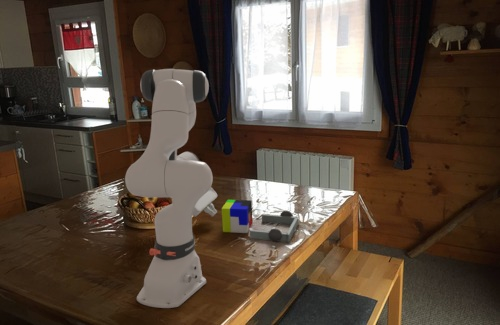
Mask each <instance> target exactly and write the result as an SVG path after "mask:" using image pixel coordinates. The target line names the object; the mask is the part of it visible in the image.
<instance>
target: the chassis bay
mask: <svg viewBox="0 0 500 325" xmlns="http://www.w3.org/2000/svg"><path fill="white" fill-rule="evenodd" d="M261 222H262V223H269V224H270V223H273V224H284V225H290V226H289V228H288V230H287V231H286V232H282V231H281V230H280V229H279V228H277V227H276V228H274V227H273V228H272V229H270V230H269V231H268V230H260V229H259V230H258V229H257V230H256V229H249V235H250V236H249V238H250V239H255V240H266V241H272V242H274V243H275V242H276V243H278V242H283V243H284V242H286V243H289V242H290V243H291V240H292V237H293V236H294V234H295V231H296V230H297V227H298V226H299V222H300V220H299V216H293V213H292V212H291V211H290V210H283V211H281V213H280V214H267V213H262V214H261Z"/></svg>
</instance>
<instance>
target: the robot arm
mask: <svg viewBox="0 0 500 325" xmlns="http://www.w3.org/2000/svg"><path fill="white" fill-rule="evenodd" d="M139 85H140V91H141V94H142V97H143V98H144V99H145V100H146V101H148V102H151V103H152V107H151V127H150V135H149V142H148V144H147V146H146V148H145V150H144V152H143V153H142V154H141V156H140V157H139V158H138V159H137V160H136V161H134V162H133V163H132V164H130V166H129V167H128V168H127V170H126V173H125V176H124V180H125V186H126V188H127V191H128V192H129V193H130V194H131V195H133V196H137V197H141V198H142V197H143V198H170V199H171V204H168V205H166V206H164V207H163V208H161V209H160V210H158V211H157V213H156V214H155V217H154V221H153V222H154V230H155V238H156V239H155V241H154V242H155V243H154V247H153V248H152V247H151V248H150V249H149V255H150V256H153V258H152V260H151V263H150V264H149V267H148V269H147V272H146V274H145V276H144V279H143V287H142V288H141V290H140V291H139V293H138V294H137V296H136V301H137V302H138V303H139V304H141V305H144V306H146V307H152V308H158V309H159V308H161V309H171V308H172V309H173V308H177V307H180V306H181V305H182V304H184V302H186V301H187V300H188V299H190V298H191V297H192V296H193V295H194V294H195V293H196V292H197V291H199V290H200V289H201V288H202V287H203V286H204V285H206V284H207V279H206V277H204V276H203V274H202V273H203V272H202V267H201V266H202V265H201V261H200V260H201V259H200V257H199V255H198V254H197V252H196V250H195V247H196V240H195V236H194V235H193V217H194V218H196V217H197V216H198V215H199V214H200V213H202V212H203V211H204V212H205V213H206V214H209V215H210V216H211V217H214V216H215V215H216V214H217V213H218V210H217V209H216V208H215V205H214V204H213V201H215V199H217V197H218V194H217V192H216V191H215V190H214V188H213V187H212V186H213V185H212V184H213V179H214V178H213V172H212V169H211V168H210V166H209V165H208V164H207V162H204V161H201V160H200V159H199V157H198V156H197V155H196V154H195V153H193V152H192V151H184V152H182V153H180V154H179V155H178V154H177V153H178V149H180V148H182V147H183V146H185V145H186V144H187V142H188V140H189V132H190V131H191V129H192V128H193V127H194V126H195V123H196V118H197V108H196V107H197V105H196V103H201V102H203V101H204V100H205V99H207V96H208V93H209V87H210V85H209V80H208V78H207V75H206V73H204V72H203V71H201V70H196V69H193V70H189V69H179V68H178V69H175V68H163V69H149V70H146V71H145V72H143V73H142V75H141V78H140V84H139Z"/></svg>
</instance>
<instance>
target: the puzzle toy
mask: <svg viewBox="0 0 500 325" xmlns="http://www.w3.org/2000/svg"><path fill="white" fill-rule="evenodd" d="M252 203H253V202H252V200H247V199H246V200H245V199H244V200H242V199H227V200H226V201H225V204H223V206H222V207H221V219H222V220H221V221H222V232H223V233H241V234H248V233H249V232H250V230H251V227H252V224H253V206H252V205H253V204H252Z"/></svg>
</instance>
